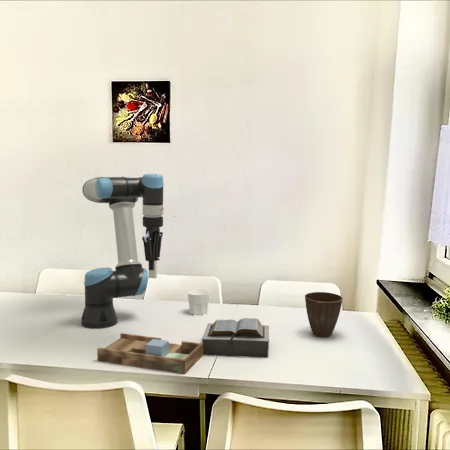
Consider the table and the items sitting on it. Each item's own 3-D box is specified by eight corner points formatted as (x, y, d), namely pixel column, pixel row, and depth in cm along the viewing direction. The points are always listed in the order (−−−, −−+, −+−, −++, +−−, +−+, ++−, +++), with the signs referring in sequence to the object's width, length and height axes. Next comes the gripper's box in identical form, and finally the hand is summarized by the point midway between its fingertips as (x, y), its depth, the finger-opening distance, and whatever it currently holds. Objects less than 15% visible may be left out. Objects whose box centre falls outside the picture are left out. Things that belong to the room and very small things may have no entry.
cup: (208, 316, 231) (209, 295, 230) (186, 316, 231) (186, 294, 230) (209, 310, 241) (210, 289, 240) (188, 309, 241) (188, 289, 240)
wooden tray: (97, 361, 179) (97, 348, 178) (121, 344, 195) (121, 333, 194) (185, 373, 169) (185, 360, 168) (203, 355, 185) (203, 343, 184)
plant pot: (347, 334, 208) (349, 296, 206) (328, 344, 198) (329, 303, 196) (316, 326, 219) (317, 290, 217) (296, 335, 208) (297, 296, 206)
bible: (265, 363, 179) (266, 336, 178) (192, 355, 186) (192, 328, 185) (277, 341, 201) (277, 317, 200) (211, 334, 208) (211, 311, 207)
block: (145, 357, 175) (145, 344, 174) (153, 351, 180) (153, 338, 180) (161, 359, 173) (161, 346, 172) (168, 353, 178) (168, 340, 178)
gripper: (154, 218, 182) (154, 283, 186) (169, 214, 194) (168, 274, 198) (135, 217, 184) (135, 280, 188) (151, 213, 197) (151, 272, 200)
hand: (152, 277), depth 193 cm, fingers closed
